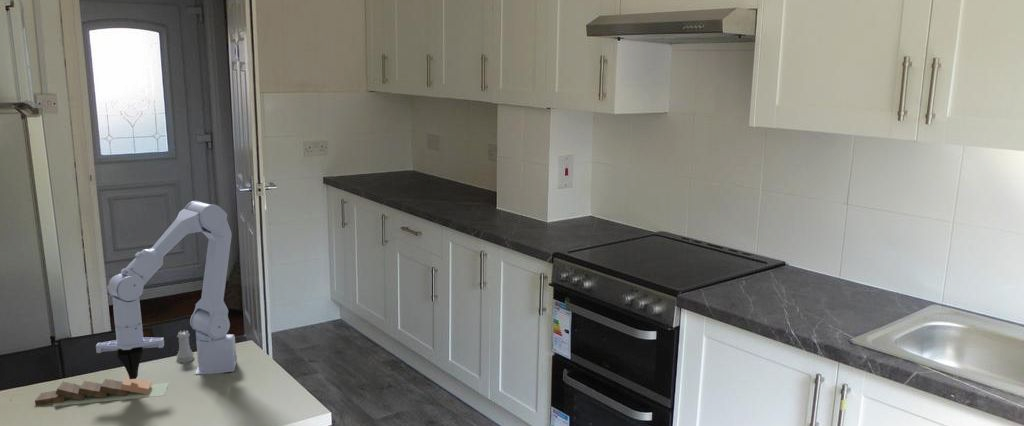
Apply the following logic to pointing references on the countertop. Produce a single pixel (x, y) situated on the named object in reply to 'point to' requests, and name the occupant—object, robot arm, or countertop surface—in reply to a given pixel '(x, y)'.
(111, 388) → the domino
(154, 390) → the sage mat
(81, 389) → the domino
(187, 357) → the rook chess piece
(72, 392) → the domino
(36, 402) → the domino
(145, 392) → the terracotta domino
